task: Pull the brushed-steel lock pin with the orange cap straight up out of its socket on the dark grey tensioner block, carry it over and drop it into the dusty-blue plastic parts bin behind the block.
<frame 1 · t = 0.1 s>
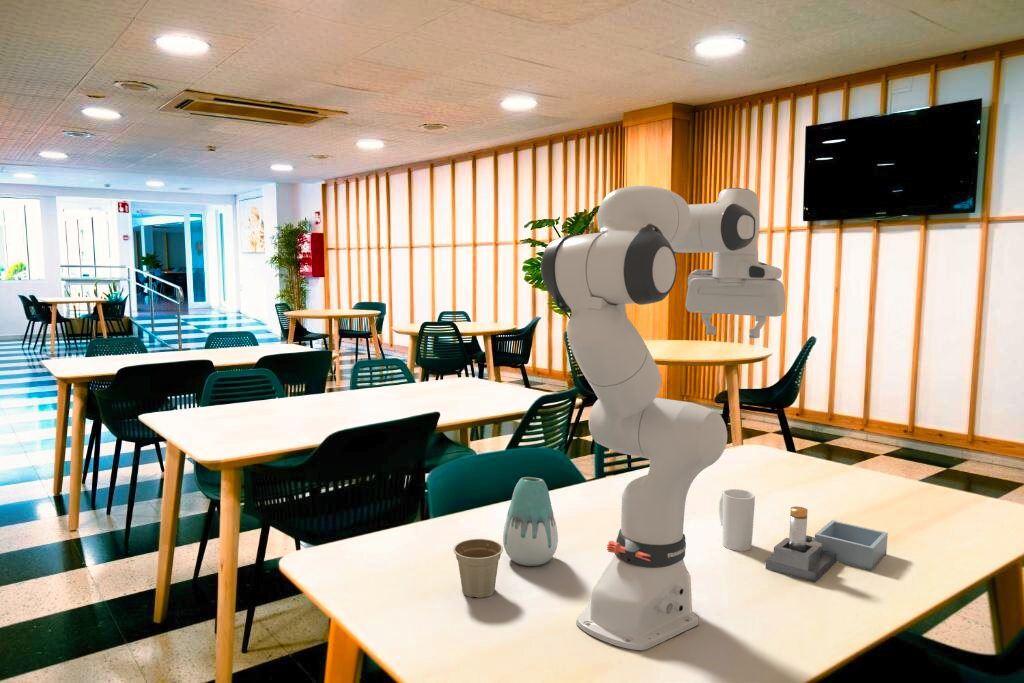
hand: (732, 336, 148), 48 cm above the table, fingers open, 8 cm apart
vase: (530, 560, 151), on the table
tensioner block: (801, 565, 149), on the table
lock pin: (796, 560, 147), point 2 cm above the table, touching tensioner block
mug: (732, 543, 161), on the table
flower pot: (478, 592, 136), on the table
parts bin: (850, 554, 155), on the table
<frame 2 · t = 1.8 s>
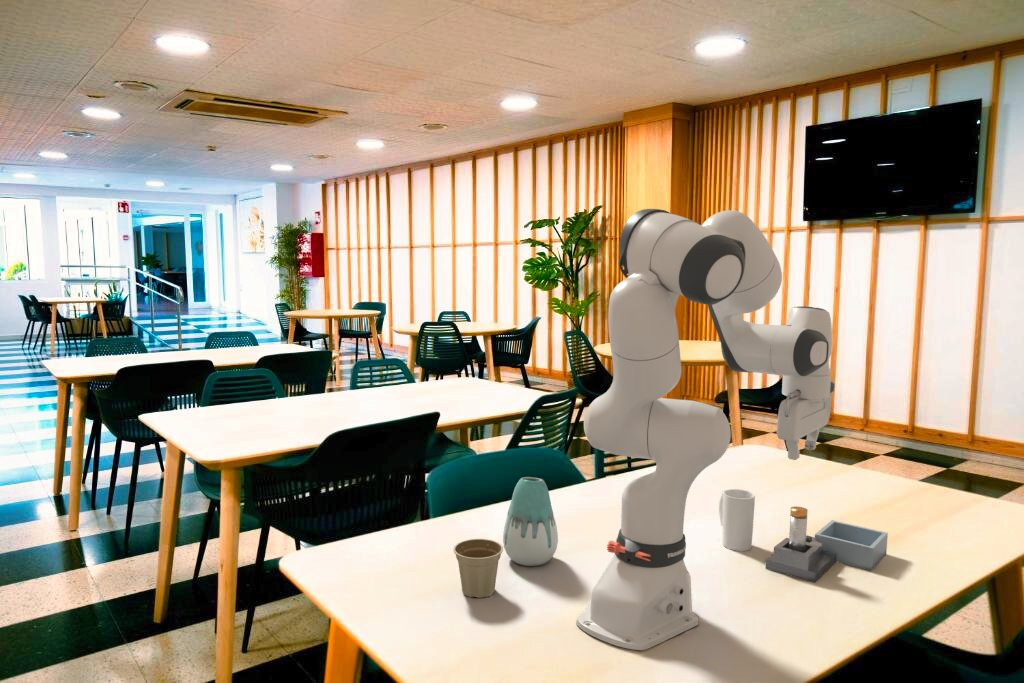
hand: (802, 454, 144), 24 cm above the table, fingers open, 8 cm apart
nothing on the table moved.
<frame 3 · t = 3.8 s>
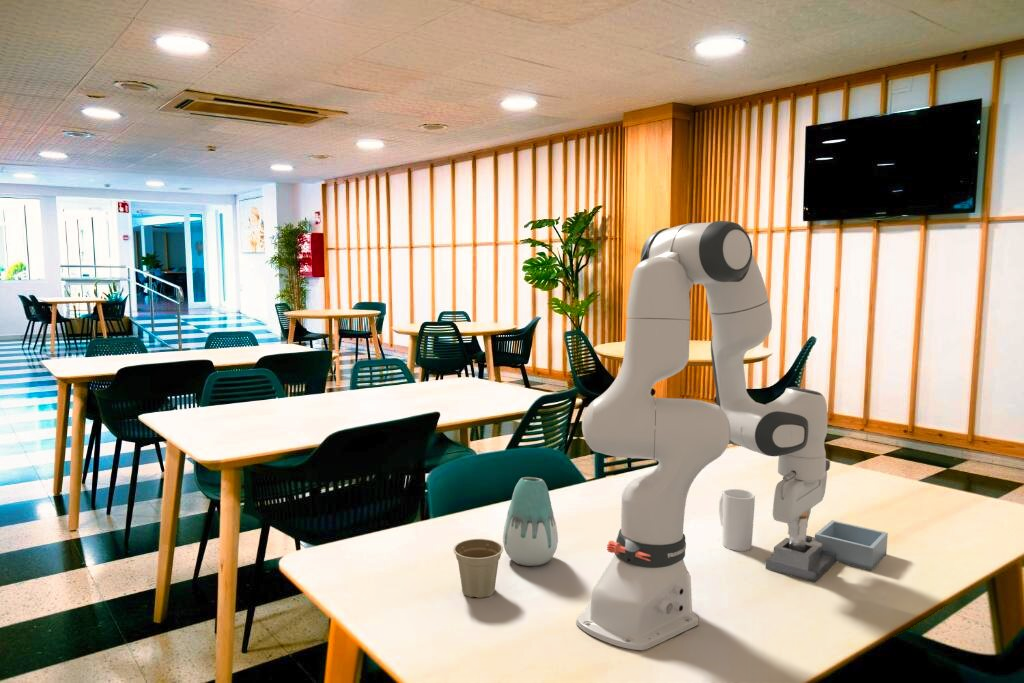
hand: (797, 532, 146), 8 cm above the table, fingers closed on lock pin, 3 cm apart
lock pin: (796, 560, 147), point 2 cm above the table, touching gripper, tensioner block
everything else where it was.
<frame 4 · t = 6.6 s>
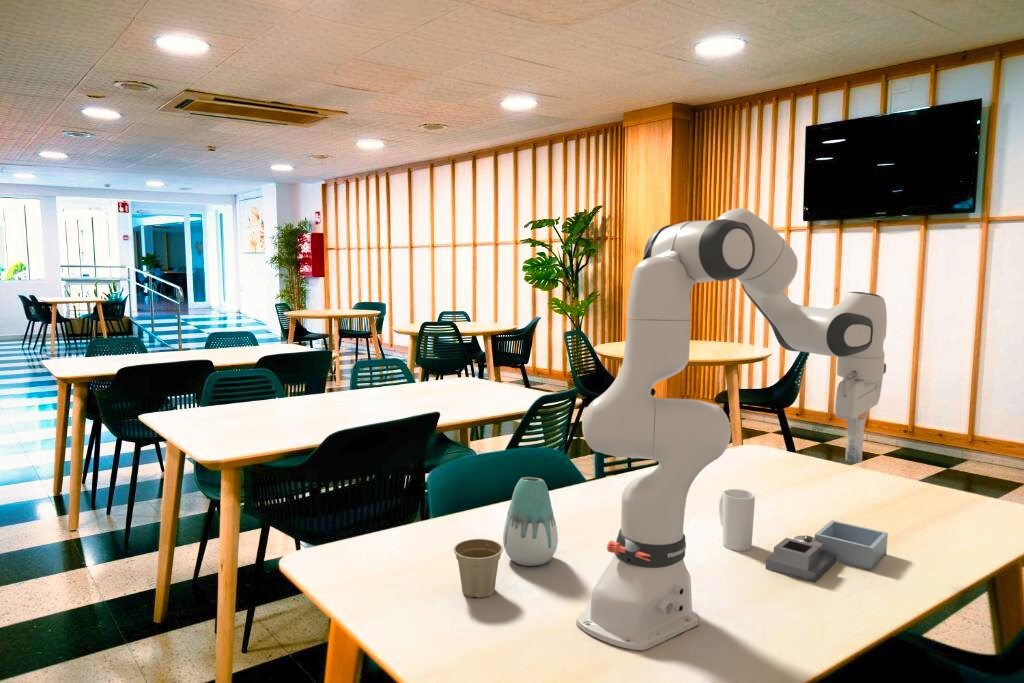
hand: (855, 432, 152), 27 cm above the table, fingers closed on lock pin, 3 cm apart
lock pin: (853, 460, 153), point 21 cm above the table, touching gripper
everything else where it was.
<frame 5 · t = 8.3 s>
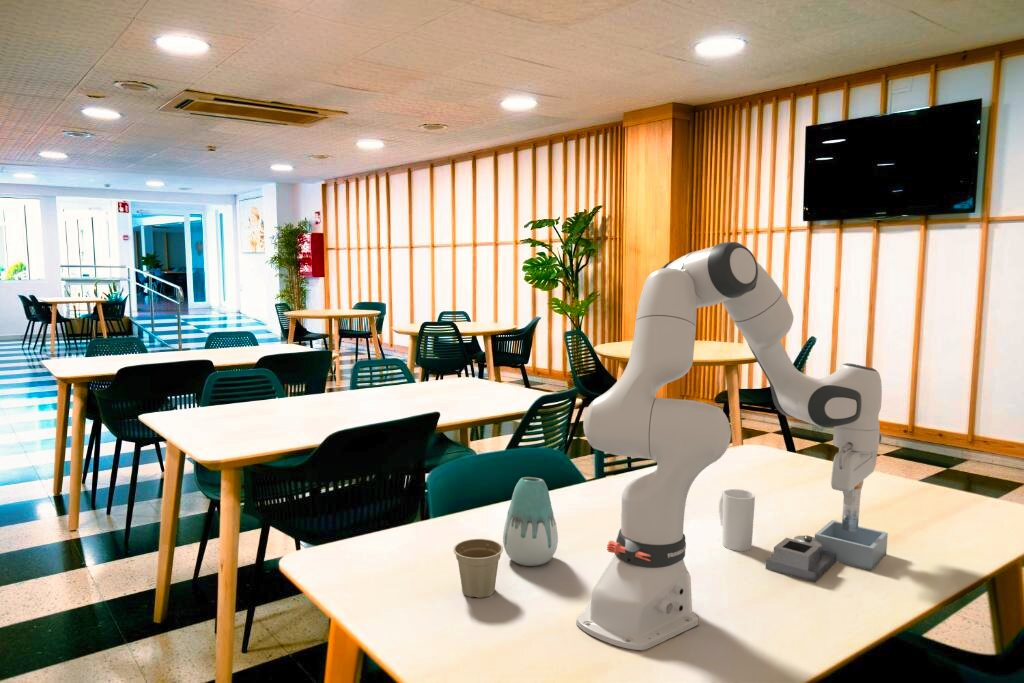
hand: (851, 501, 154), 12 cm above the table, fingers closed on lock pin, 3 cm apart
lock pin: (849, 528, 155), point 6 cm above the table, touching gripper
everything else where it was.
when the fingers open (9 cm above the table, at t = 9.4 s): lock pin drops 2 cm, resting on parts bin.
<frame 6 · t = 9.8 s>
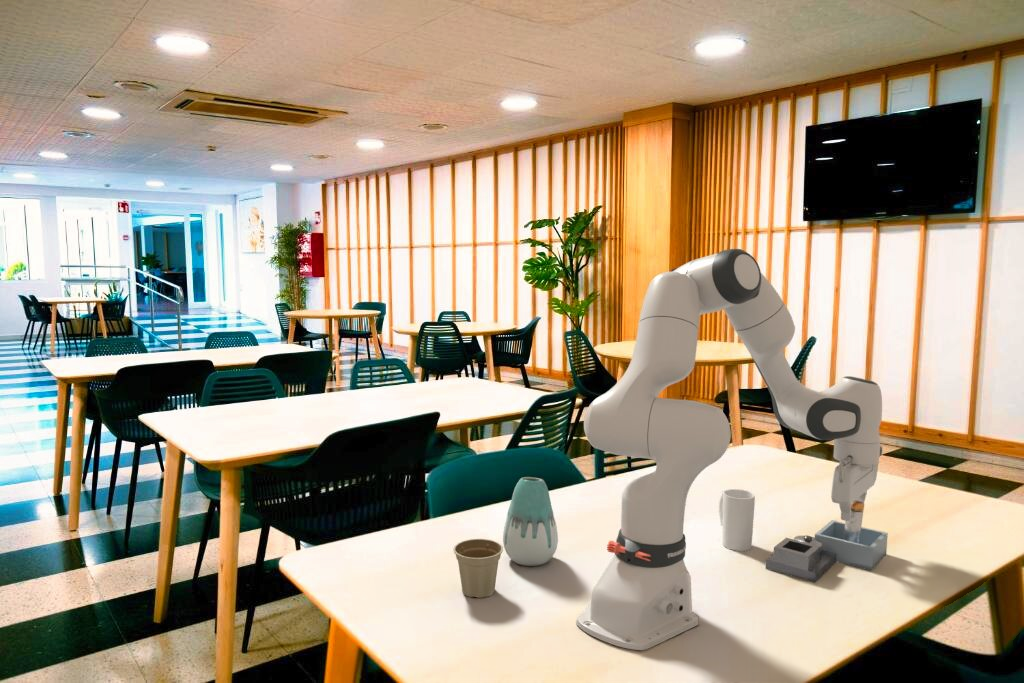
hand: (852, 514, 154), 9 cm above the table, fingers open, 8 cm apart
lock pin: (849, 550, 155), point 1 cm above the table, touching parts bin
everything else where it was.
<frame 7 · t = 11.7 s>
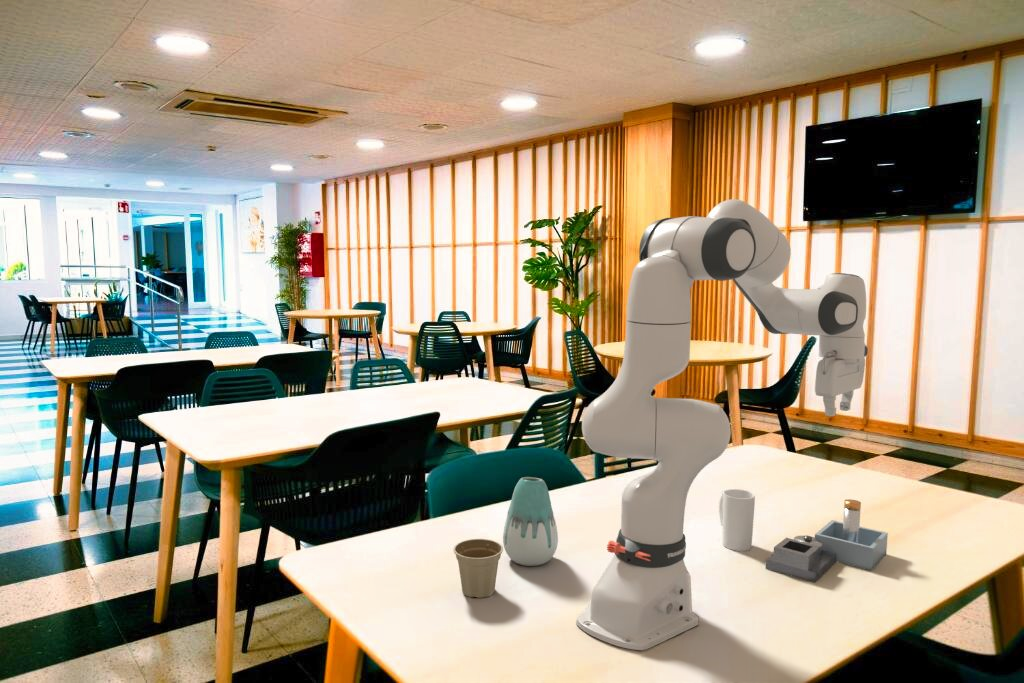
hand: (837, 413, 154), 31 cm above the table, fingers open, 8 cm apart
nothing on the table moved.
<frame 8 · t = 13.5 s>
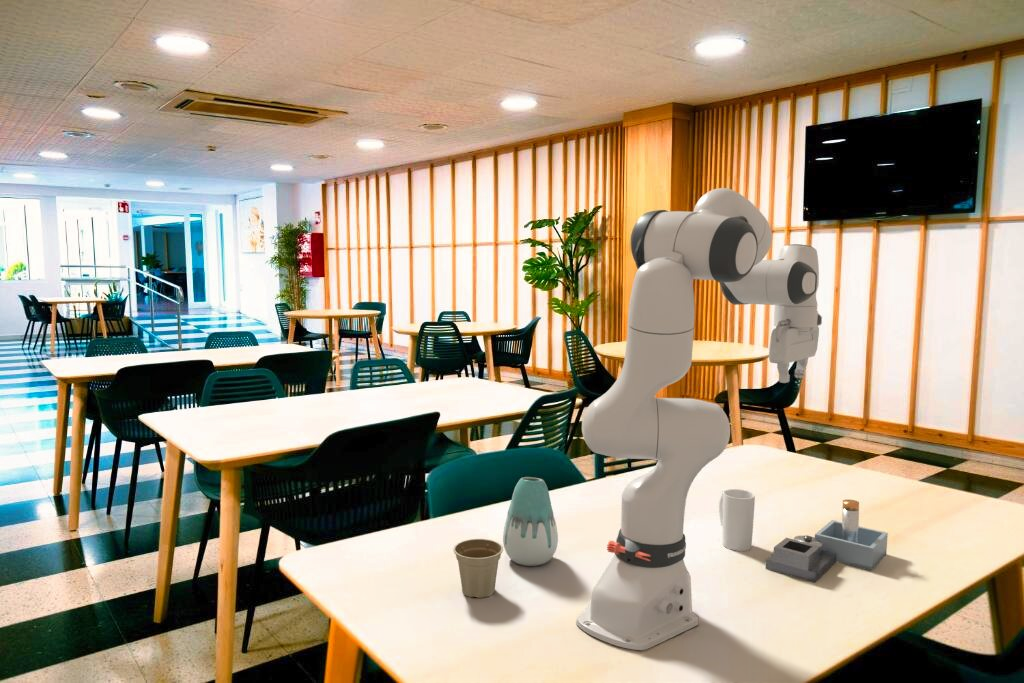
hand: (792, 380, 159), 37 cm above the table, fingers open, 8 cm apart
nothing on the table moved.
at the end: lock pin inside the target area on the parts bin (0.1 cm from its centre), point 0.9 cm above the parts bin's base; the gripper is holding nothing; lock pin touching parts bin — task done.
